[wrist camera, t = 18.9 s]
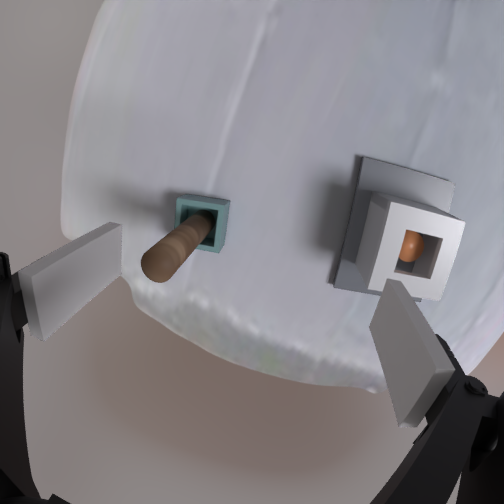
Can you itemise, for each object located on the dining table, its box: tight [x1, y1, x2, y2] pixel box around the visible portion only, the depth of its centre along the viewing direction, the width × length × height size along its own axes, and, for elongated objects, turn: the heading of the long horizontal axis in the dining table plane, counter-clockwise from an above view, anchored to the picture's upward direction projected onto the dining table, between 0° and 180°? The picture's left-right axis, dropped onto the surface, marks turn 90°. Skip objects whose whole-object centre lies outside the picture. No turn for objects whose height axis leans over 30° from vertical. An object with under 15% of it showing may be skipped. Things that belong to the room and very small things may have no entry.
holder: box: [174, 194, 230, 253], centre depth 41 cm, size 6×6×4 cm
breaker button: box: [399, 229, 424, 262], centre depth 36 cm, size 4×4×4 cm
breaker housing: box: [333, 157, 465, 302], centre depth 35 cm, size 18×14×9 cm
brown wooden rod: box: [141, 210, 215, 283], centre depth 34 cm, size 3×3×16 cm
